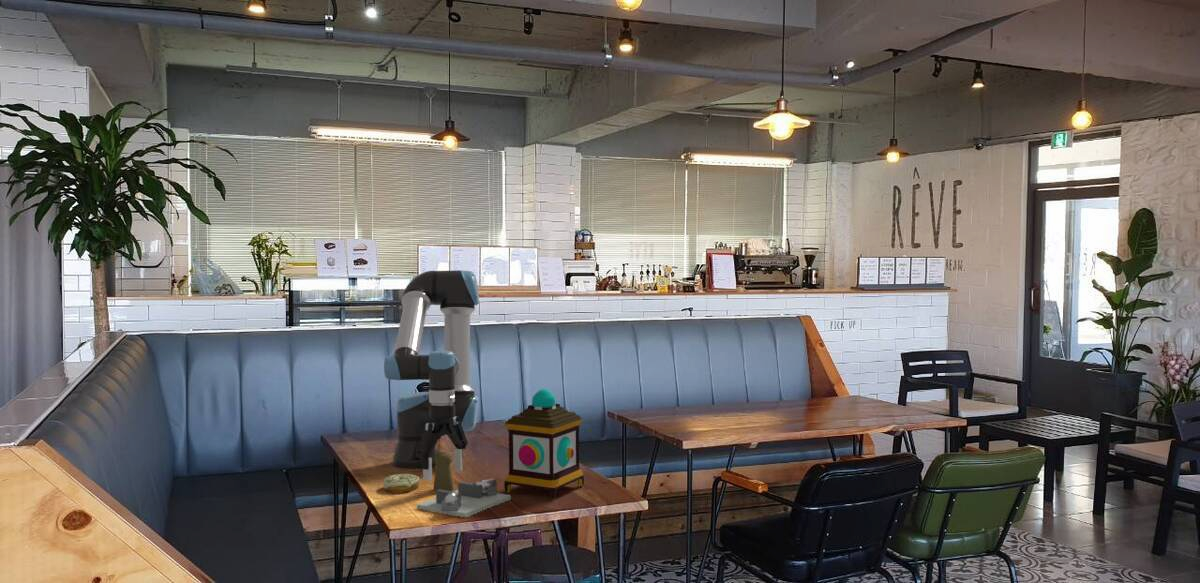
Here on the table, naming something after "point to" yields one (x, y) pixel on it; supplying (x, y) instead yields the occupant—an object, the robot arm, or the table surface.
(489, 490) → the shaft
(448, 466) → the cork
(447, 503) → the shaft
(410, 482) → the decorated donut
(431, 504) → the rig
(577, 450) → the decorative lantern
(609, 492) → the table surface
